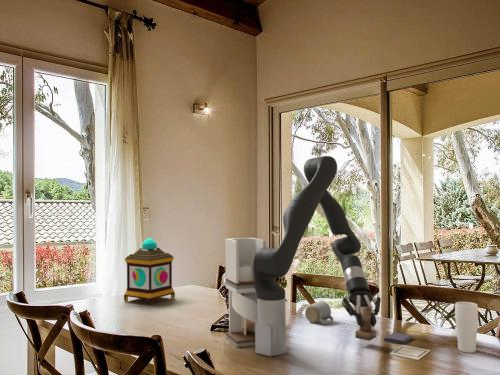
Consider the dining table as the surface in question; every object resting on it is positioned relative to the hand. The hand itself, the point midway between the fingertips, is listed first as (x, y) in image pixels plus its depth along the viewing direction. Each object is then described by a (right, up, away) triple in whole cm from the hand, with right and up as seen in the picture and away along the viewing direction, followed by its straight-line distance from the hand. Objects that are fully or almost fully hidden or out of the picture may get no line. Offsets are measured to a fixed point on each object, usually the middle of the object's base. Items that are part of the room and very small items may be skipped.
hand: (367, 325), depth 163 cm
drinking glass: (+31, -7, -5) cm, 32 cm away
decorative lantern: (-87, -9, +75) cm, 116 cm away
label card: (+12, -7, -6) cm, 15 cm away
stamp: (0, -5, +2) cm, 5 cm away
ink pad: (+13, -7, +8) cm, 16 cm away
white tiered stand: (-40, -8, +8) cm, 42 cm away
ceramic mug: (-11, -8, +33) cm, 35 cm away
